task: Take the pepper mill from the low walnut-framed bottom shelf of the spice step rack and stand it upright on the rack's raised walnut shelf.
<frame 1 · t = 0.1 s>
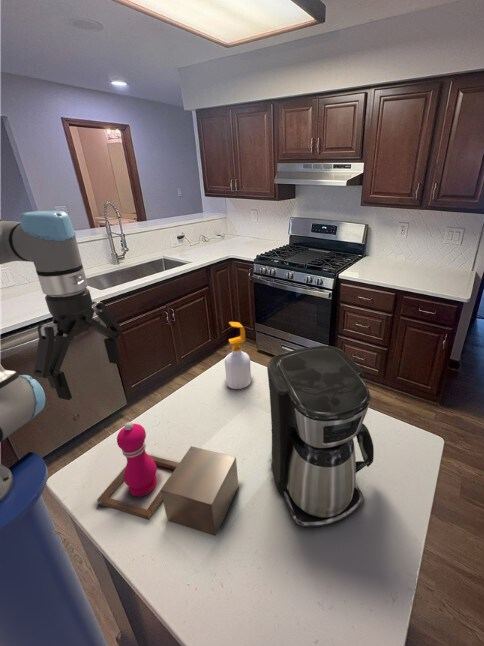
hand: (92, 378, 71), 29 cm above the kitchen island, tool pointing down, fingers open, 13 cm apart
soap bottle: (238, 382, 116), on the kitchen island
coffee maker: (317, 466, 83), on the kitchen island
pepper mill: (143, 485, 78), resting in step rack
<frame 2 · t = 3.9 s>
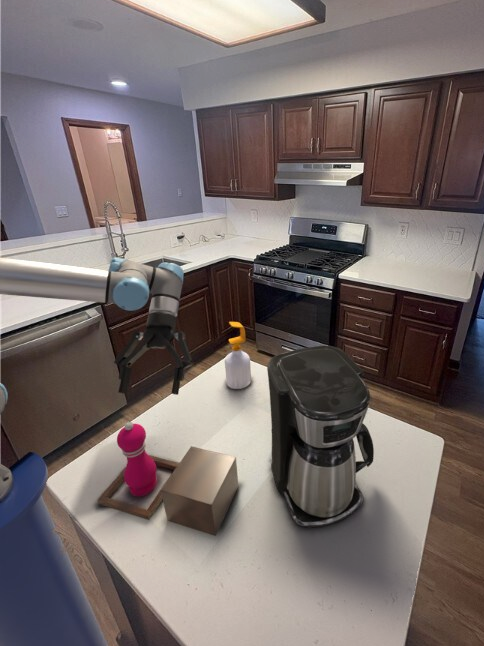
hand: (148, 393, 80), 20 cm above the kitchen island, tool tilted 45°, fingers open, 13 cm apart
nothing on the kitchen island moved.
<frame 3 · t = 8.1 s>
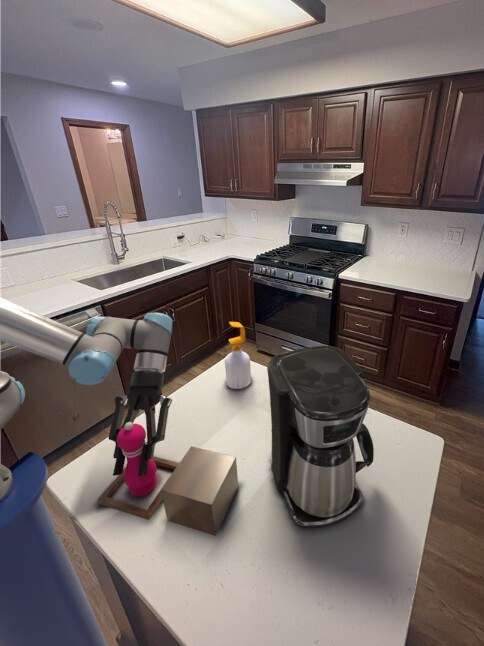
hand: (129, 474, 71), 8 cm above the kitchen island, tool tilted 45°, fingers closed on pepper mill, 5 cm apart
pepper mill: (143, 485, 78), resting in step rack, touching gripper
everything else where it was.
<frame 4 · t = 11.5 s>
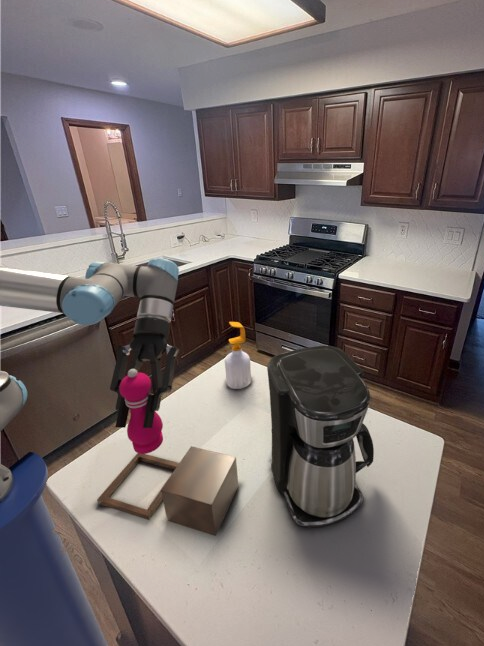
hand: (134, 427, 64), 23 cm above the kitchen island, tool tilted 45°, fingers closed on pepper mill, 5 cm apart
pepper mill: (148, 443, 71), point 15 cm above the kitchen island, touching gripper
everything else where it was.
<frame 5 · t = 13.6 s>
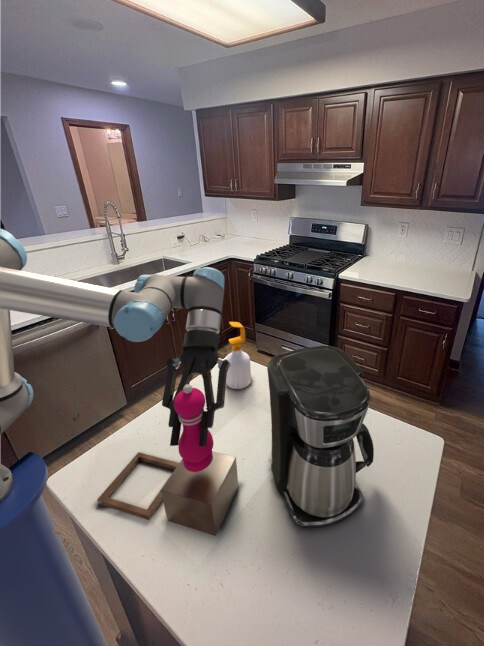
hand: (188, 445, 62), 22 cm above the kitchen island, tool tilted 45°, fingers closed on pepper mill, 5 cm apart
pepper mill: (198, 460, 68), point 14 cm above the kitchen island, touching gripper
everything else where it was.
when the fingers open (18 cm above the kitchen island, at t = 15.0 s): pepper mill stays where it is, resting on step rack.
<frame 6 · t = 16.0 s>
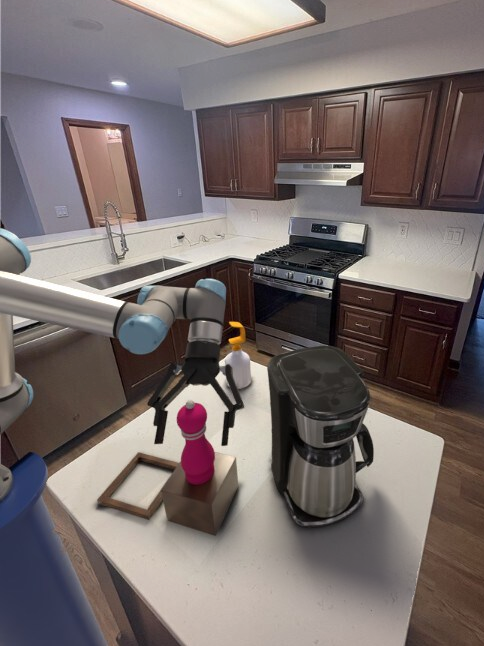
hand: (191, 445, 64), 21 cm above the kitchen island, tool tilted 45°, fingers open, 13 cm apart
pepper mill: (200, 473, 70), point 10 cm above the kitchen island, touching step rack
everything else where it was.
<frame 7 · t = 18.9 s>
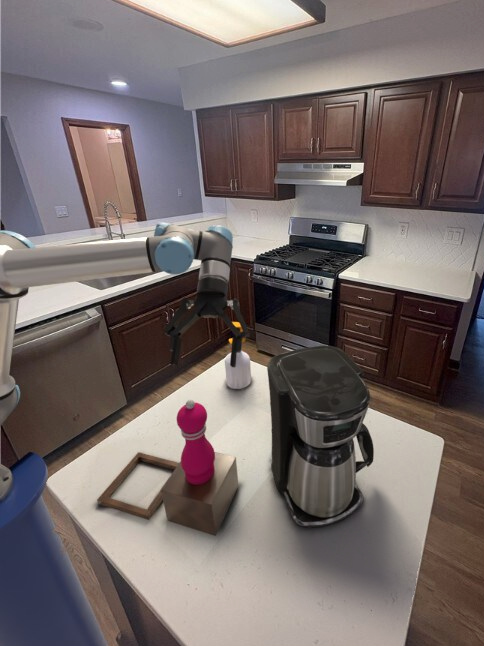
hand: (203, 366, 71), 31 cm above the kitchen island, tool tilted 45°, fingers open, 13 cm apart
nothing on the kitchen island moved.
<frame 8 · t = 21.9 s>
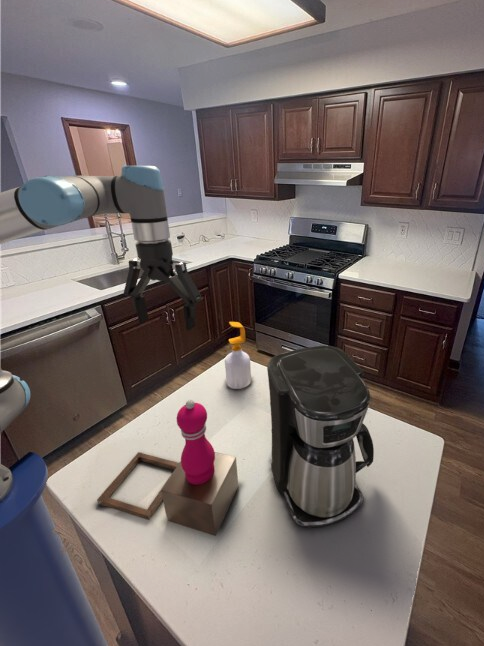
hand: (167, 324, 79), 37 cm above the kitchen island, tool pointing down, fingers open, 13 cm apart
nothing on the kitchen island moved.
at the end: pepper mill inside the target area (0.0 cm from its centre), point 9.8 cm above the kitchen island; pepper mill tilted 0°; the gripper is holding nothing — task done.
